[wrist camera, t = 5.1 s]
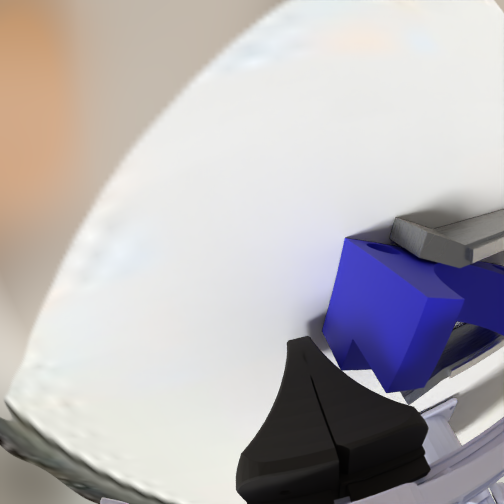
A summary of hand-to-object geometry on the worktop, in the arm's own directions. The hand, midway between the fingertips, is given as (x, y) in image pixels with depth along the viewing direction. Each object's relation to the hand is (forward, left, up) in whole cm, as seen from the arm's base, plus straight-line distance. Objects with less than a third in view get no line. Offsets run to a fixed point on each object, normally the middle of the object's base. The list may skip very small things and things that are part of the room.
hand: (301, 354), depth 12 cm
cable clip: (0, -8, -1) cm, 8 cm away
